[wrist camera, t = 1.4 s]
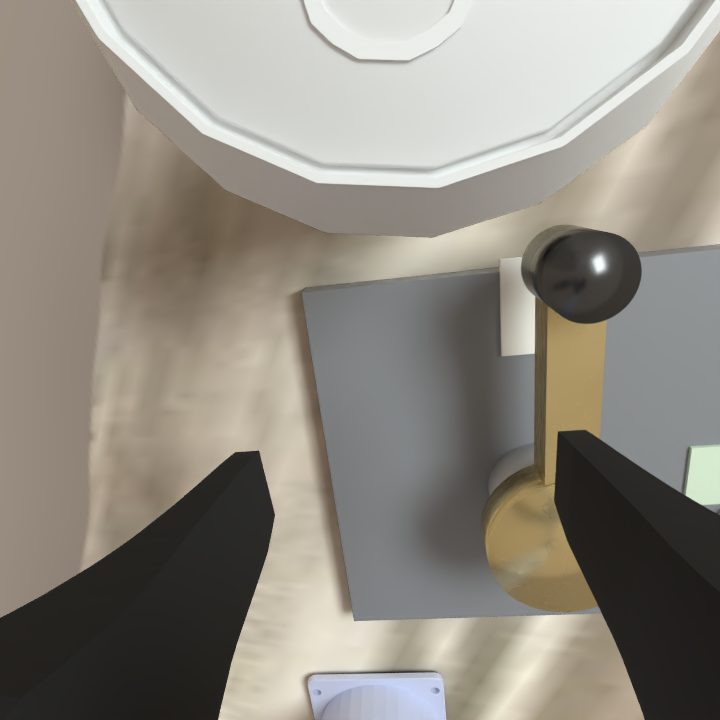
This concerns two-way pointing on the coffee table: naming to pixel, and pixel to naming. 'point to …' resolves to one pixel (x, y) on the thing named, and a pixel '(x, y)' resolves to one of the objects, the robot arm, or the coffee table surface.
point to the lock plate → (491, 416)
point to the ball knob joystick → (558, 407)
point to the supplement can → (399, 97)
